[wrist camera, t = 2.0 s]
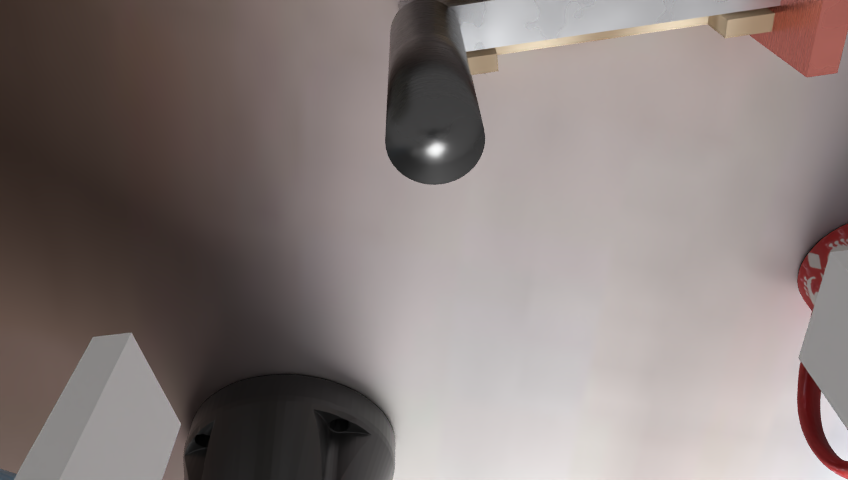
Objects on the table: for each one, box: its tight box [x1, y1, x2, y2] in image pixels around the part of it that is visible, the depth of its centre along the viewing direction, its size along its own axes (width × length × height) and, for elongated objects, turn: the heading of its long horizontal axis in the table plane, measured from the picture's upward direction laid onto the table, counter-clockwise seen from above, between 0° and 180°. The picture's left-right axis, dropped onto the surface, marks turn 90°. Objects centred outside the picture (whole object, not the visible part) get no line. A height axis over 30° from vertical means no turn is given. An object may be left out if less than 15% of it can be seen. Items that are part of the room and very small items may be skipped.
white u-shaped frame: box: [385, 0, 848, 185], centre depth 24 cm, size 18×6×13 cm, turn 98°
